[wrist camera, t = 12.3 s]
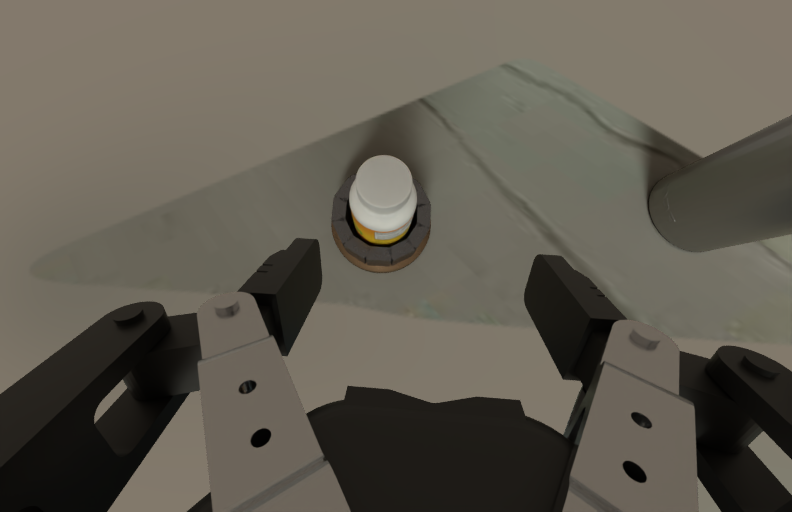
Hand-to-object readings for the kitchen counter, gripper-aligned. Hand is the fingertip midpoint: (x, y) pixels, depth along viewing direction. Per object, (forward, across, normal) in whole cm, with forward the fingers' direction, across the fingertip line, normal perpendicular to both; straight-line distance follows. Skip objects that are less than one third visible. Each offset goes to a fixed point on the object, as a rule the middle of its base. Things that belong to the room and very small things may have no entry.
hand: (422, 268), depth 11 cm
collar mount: (+19, +4, +6) cm, 20 cm away
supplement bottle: (+18, +3, +6) cm, 19 cm away
